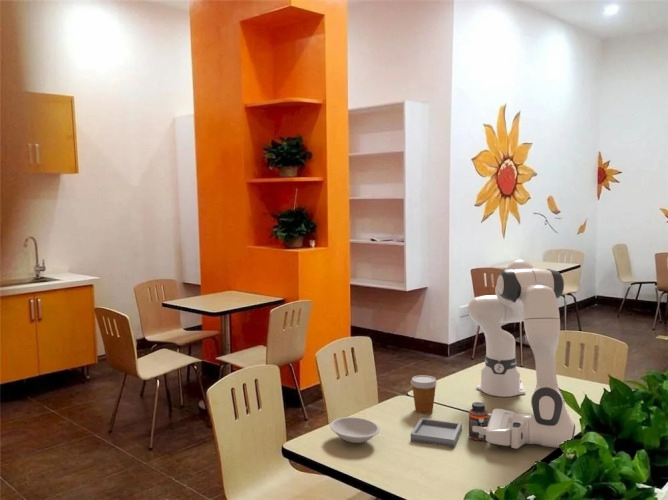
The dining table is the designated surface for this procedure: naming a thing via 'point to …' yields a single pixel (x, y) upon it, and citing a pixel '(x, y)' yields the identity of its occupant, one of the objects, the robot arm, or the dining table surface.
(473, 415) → the supplement bottle
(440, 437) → the tray
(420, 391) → the disposable coffee cup
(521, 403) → the dining table surface
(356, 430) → the dish
